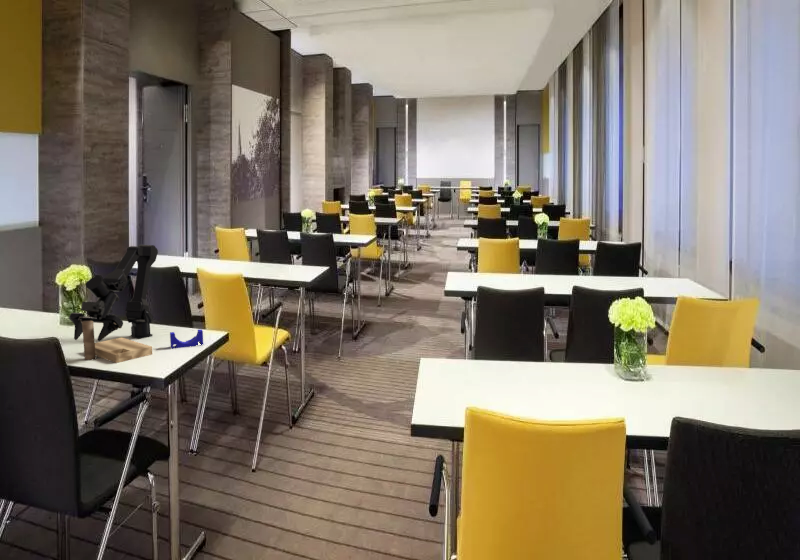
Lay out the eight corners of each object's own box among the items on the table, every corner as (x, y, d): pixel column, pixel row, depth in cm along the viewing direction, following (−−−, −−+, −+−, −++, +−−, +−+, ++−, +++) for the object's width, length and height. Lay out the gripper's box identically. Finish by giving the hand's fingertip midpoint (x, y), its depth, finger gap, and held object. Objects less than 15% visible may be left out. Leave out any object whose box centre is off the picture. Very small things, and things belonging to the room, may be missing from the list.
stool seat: (121, 344, 231) (121, 337, 231) (152, 354, 219) (151, 346, 218) (86, 352, 220) (85, 344, 219) (116, 363, 208) (115, 354, 207)
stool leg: (92, 356, 215) (90, 320, 212) (97, 358, 213) (95, 321, 210) (82, 358, 212) (80, 321, 210) (87, 360, 210) (85, 323, 208)
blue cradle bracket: (201, 342, 236) (200, 328, 235) (203, 345, 232) (202, 331, 231) (170, 346, 231) (169, 331, 230) (171, 349, 227) (170, 334, 226)
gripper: (70, 291, 214) (50, 327, 205) (116, 293, 211) (98, 329, 202) (86, 307, 223) (68, 343, 214) (130, 310, 220) (114, 345, 211)
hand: (86, 340), depth 210 cm, fingers open, 9 cm apart
